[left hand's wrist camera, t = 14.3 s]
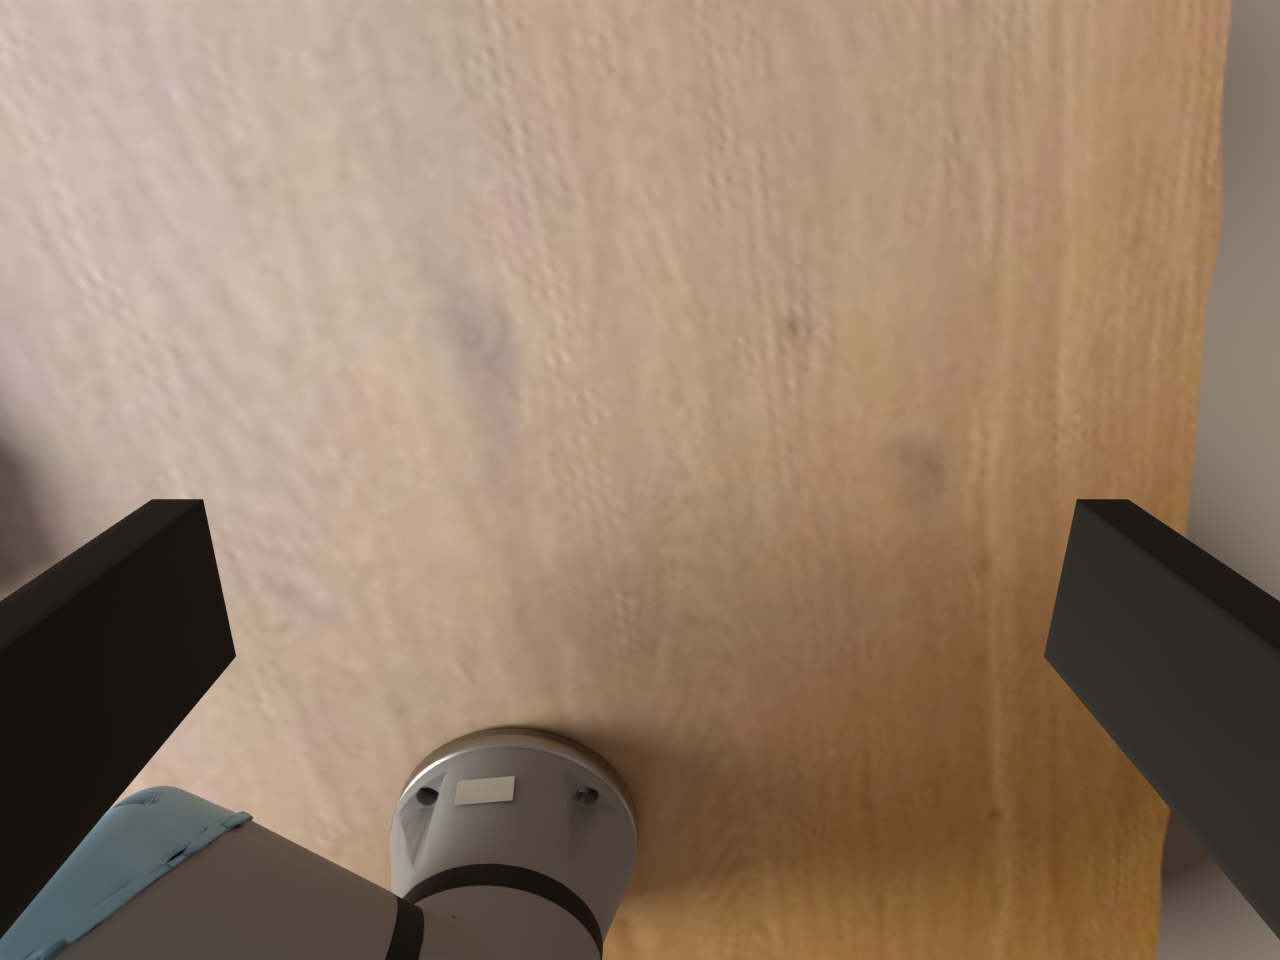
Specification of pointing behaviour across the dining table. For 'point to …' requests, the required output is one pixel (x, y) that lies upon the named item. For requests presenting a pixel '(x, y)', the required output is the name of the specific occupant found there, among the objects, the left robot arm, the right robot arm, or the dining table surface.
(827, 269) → the dining table surface
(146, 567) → the left robot arm
